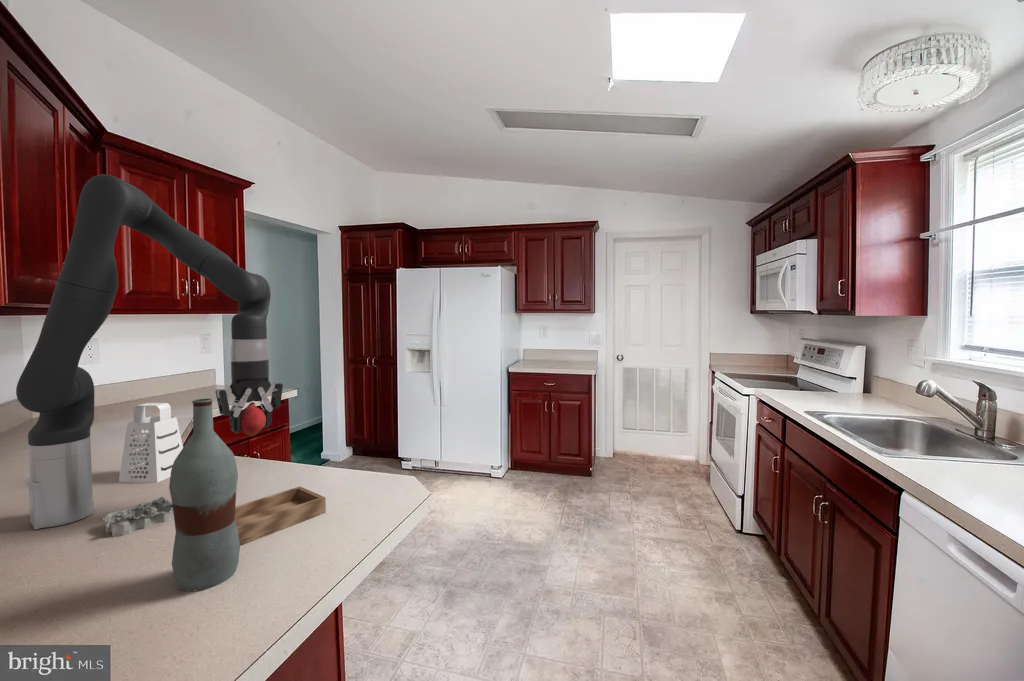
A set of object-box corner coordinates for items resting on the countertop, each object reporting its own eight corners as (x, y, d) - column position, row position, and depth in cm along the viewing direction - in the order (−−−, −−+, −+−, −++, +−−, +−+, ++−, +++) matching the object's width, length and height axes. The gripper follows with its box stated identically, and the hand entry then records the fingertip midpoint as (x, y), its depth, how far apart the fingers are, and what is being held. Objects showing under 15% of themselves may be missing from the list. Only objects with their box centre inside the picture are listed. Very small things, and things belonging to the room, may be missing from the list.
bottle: (163, 599, 66) (157, 407, 65) (182, 568, 74) (176, 397, 73) (235, 585, 70) (230, 402, 68) (245, 556, 78) (240, 393, 77)
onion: (252, 440, 97) (251, 405, 97) (231, 438, 98) (230, 404, 98) (271, 433, 103) (271, 400, 102) (251, 432, 104) (250, 399, 104)
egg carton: (112, 541, 84) (111, 520, 84) (101, 530, 88) (100, 511, 88) (178, 519, 93) (177, 501, 93) (165, 511, 97) (164, 493, 97)
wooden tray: (225, 551, 80) (224, 533, 80) (202, 534, 86) (201, 517, 86) (325, 512, 96) (325, 497, 96) (300, 500, 102) (299, 486, 102)
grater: (157, 482, 114) (154, 408, 113) (118, 482, 114) (115, 407, 113) (187, 469, 124) (185, 400, 123) (152, 468, 125) (150, 400, 124)
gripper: (274, 355, 108) (275, 421, 108) (207, 359, 96) (210, 433, 97) (289, 357, 103) (290, 426, 104) (222, 361, 92) (224, 439, 92)
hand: (251, 429), depth 100 cm, fingers closed on onion, 6 cm apart
